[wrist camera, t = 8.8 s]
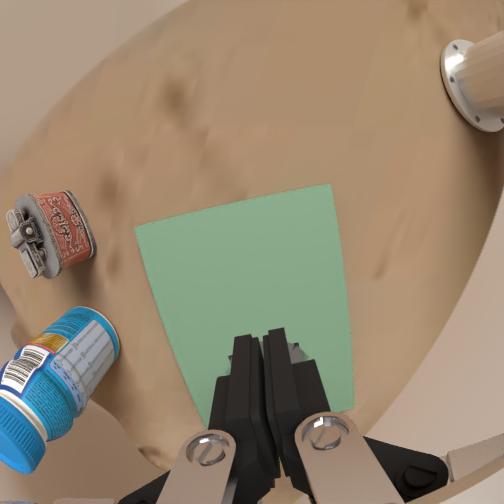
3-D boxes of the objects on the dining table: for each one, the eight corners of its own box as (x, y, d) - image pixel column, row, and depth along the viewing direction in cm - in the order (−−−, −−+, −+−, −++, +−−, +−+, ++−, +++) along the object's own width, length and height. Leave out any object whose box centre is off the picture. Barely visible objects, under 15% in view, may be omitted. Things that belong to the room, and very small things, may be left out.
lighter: (52, 199, 27) (-9, 210, 18) (72, 184, 27) (11, 189, 17) (81, 263, 29) (27, 294, 19) (102, 250, 29) (49, 278, 19)
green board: (142, 224, 28) (133, 228, 26) (323, 184, 28) (330, 184, 25) (211, 421, 34) (209, 435, 32) (348, 396, 33) (354, 408, 31)
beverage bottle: (135, 339, 31) (52, 472, 12) (103, 375, 32) (31, 489, 13) (81, 289, 30) (-40, 384, 10) (55, 331, 31) (-40, 423, 11)
